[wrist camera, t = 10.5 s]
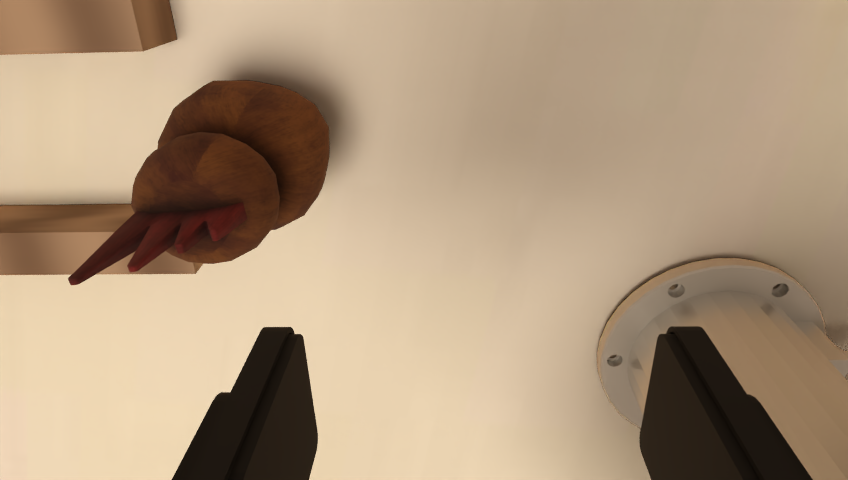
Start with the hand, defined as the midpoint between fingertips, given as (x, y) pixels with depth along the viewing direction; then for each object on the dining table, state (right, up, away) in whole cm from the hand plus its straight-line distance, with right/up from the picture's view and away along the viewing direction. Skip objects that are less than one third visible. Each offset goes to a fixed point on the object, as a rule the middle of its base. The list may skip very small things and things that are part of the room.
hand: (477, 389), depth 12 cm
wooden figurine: (-9, +9, +18) cm, 22 cm away
